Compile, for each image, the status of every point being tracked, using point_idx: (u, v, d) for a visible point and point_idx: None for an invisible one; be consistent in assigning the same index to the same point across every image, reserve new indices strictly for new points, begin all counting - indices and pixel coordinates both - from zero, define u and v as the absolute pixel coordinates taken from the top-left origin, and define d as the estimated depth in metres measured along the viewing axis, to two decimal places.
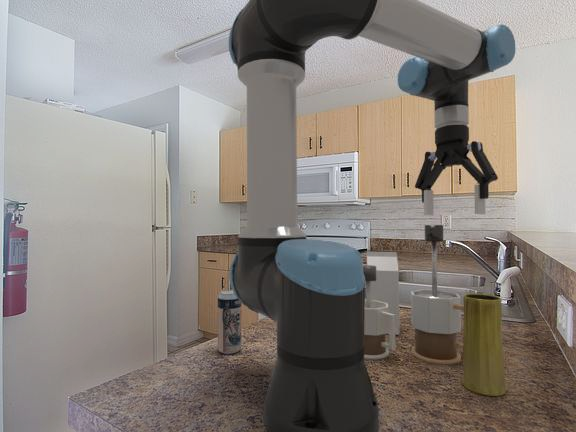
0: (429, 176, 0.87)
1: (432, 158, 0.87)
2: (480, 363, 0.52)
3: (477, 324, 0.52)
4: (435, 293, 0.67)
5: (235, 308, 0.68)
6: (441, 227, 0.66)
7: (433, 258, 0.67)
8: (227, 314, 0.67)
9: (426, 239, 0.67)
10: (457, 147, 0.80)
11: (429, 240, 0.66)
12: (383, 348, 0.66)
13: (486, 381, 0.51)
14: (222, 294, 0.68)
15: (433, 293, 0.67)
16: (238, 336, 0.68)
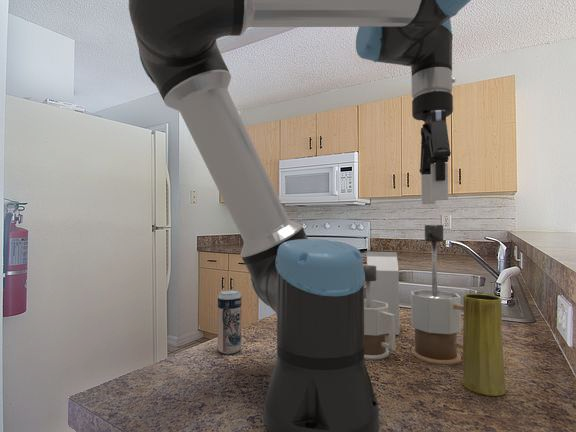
0: (422, 158, 0.74)
1: None
2: (480, 363, 0.52)
3: (477, 324, 0.52)
4: (435, 293, 0.67)
5: (235, 308, 0.68)
6: (441, 227, 0.66)
7: (433, 258, 0.67)
8: (227, 314, 0.67)
9: (426, 239, 0.67)
10: (428, 120, 0.66)
11: (429, 240, 0.66)
12: (383, 348, 0.66)
13: (486, 381, 0.51)
14: (222, 294, 0.68)
15: (433, 293, 0.67)
16: (238, 336, 0.68)
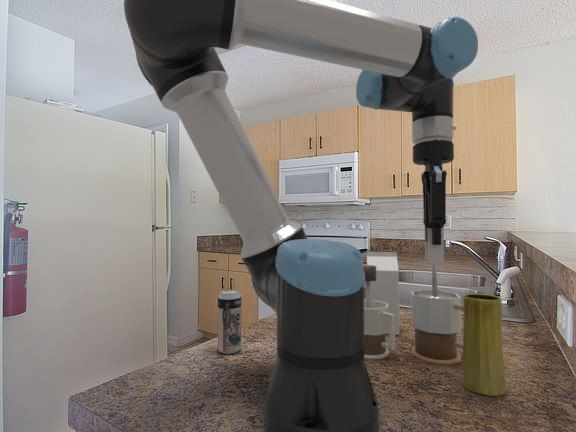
0: (425, 207, 0.70)
1: None
2: (480, 363, 0.52)
3: (477, 324, 0.52)
4: (435, 293, 0.67)
5: (235, 308, 0.68)
6: None
7: None
8: (227, 314, 0.67)
9: (426, 239, 0.67)
10: (429, 166, 0.65)
11: None
12: (383, 348, 0.66)
13: (486, 381, 0.51)
14: (222, 294, 0.68)
15: (433, 293, 0.67)
16: (238, 336, 0.68)
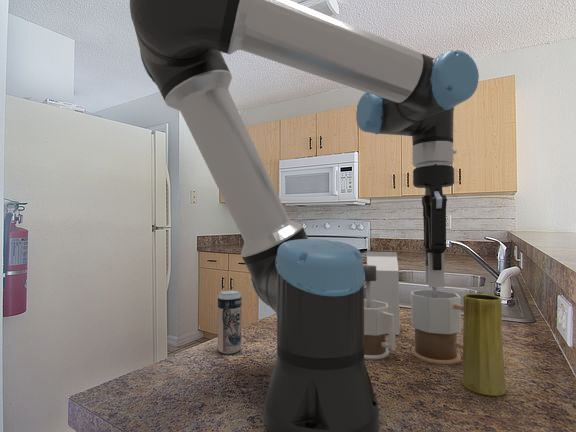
0: (425, 230, 0.70)
1: None
2: (480, 363, 0.52)
3: (477, 324, 0.52)
4: None
5: (235, 308, 0.68)
6: None
7: None
8: (227, 314, 0.67)
9: (427, 263, 0.67)
10: (429, 191, 0.65)
11: None
12: (383, 348, 0.66)
13: (486, 381, 0.51)
14: (222, 294, 0.68)
15: None
16: (238, 336, 0.68)
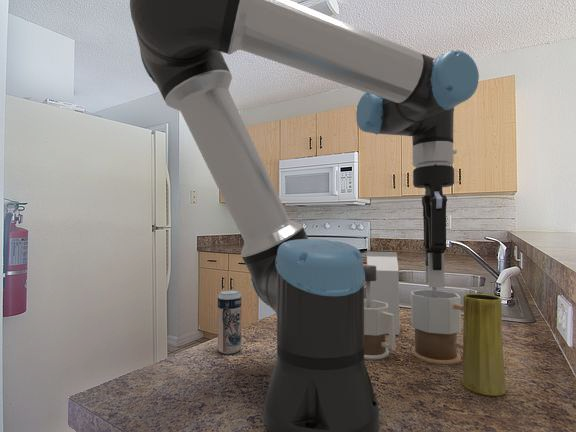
0: (425, 231, 0.70)
1: None
2: (480, 363, 0.52)
3: (477, 324, 0.52)
4: None
5: (235, 308, 0.68)
6: None
7: None
8: (227, 314, 0.67)
9: (427, 263, 0.67)
10: (429, 191, 0.65)
11: None
12: (383, 348, 0.66)
13: (486, 380, 0.51)
14: (222, 294, 0.68)
15: None
16: (238, 336, 0.68)
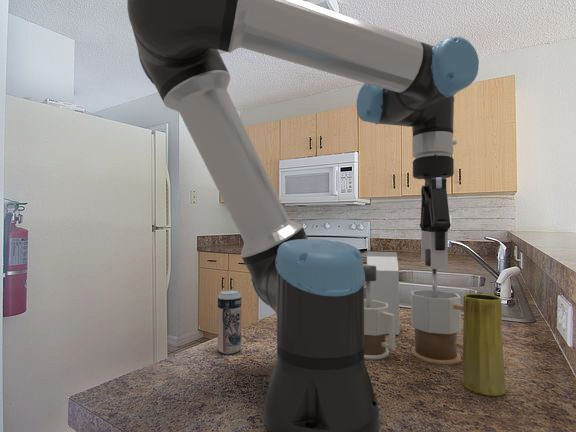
0: (422, 215, 0.73)
1: None
2: (480, 363, 0.52)
3: (477, 324, 0.52)
4: None
5: (235, 308, 0.68)
6: None
7: (434, 282, 0.67)
8: (227, 314, 0.67)
9: (427, 263, 0.67)
10: (428, 183, 0.66)
11: (429, 265, 0.66)
12: (383, 348, 0.66)
13: (486, 381, 0.51)
14: (222, 294, 0.68)
15: None
16: (238, 336, 0.68)
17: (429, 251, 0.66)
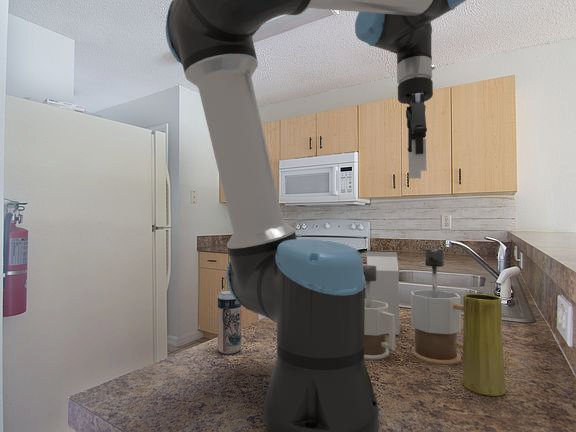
0: None
1: None
2: (480, 363, 0.52)
3: (477, 324, 0.52)
4: None
5: (235, 308, 0.68)
6: (441, 252, 0.66)
7: (434, 282, 0.67)
8: (227, 314, 0.67)
9: (427, 263, 0.67)
10: None
11: (429, 265, 0.66)
12: (383, 348, 0.66)
13: (486, 381, 0.51)
14: (222, 294, 0.68)
15: None
16: (238, 336, 0.68)
17: (429, 251, 0.66)
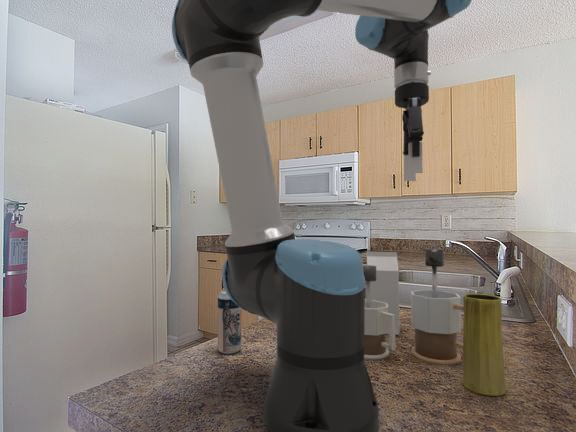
0: (404, 141, 0.85)
1: None
2: (480, 363, 0.52)
3: (477, 324, 0.52)
4: None
5: (235, 308, 0.68)
6: (441, 252, 0.66)
7: (434, 282, 0.67)
8: (227, 314, 0.67)
9: (427, 263, 0.67)
10: (407, 107, 0.78)
11: (429, 265, 0.66)
12: (383, 348, 0.66)
13: (486, 380, 0.51)
14: (222, 294, 0.68)
15: None
16: (238, 336, 0.68)
17: (429, 251, 0.66)
